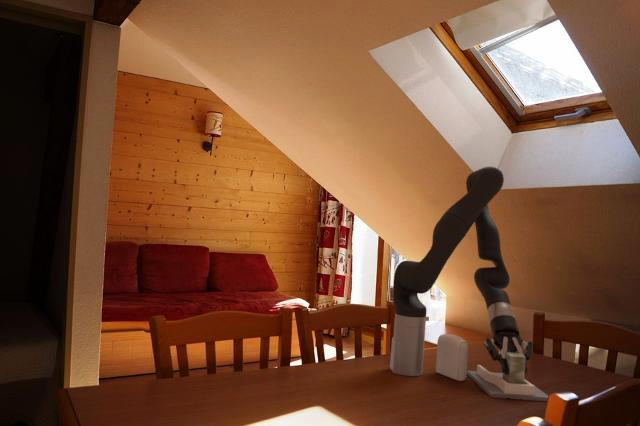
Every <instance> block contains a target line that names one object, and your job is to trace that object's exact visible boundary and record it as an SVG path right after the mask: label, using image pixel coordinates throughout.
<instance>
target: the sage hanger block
mask: <svg viewBox="0 0 640 426" xmlns="http://www.w3.org/2000/svg"><path fill="white" fill-rule="evenodd" d="M505 353H506V359H507V362H508V366H509V370H510V372H509V374H508V375H505V373H503V372H502V373H503V379H504V380H505V381H506V382H508V383H512V384H524V379H525V376H526V374H525V359H526V357H525V355H524V356H523V355H521V354H520V353H515V352H505ZM524 375H525V376H524Z"/></svg>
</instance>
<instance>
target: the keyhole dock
mask: <svg viewBox="0 0 640 426" xmlns="http://www.w3.org/2000/svg"><path fill="white" fill-rule="evenodd" d="M466 376H468V377H469V378H470V379H471V380H472V381H473V382H474V383H475V384H477V386H479V388H481V389H482V391H484V393H486V395H488V396H489V397H490V398H492V397H493V398H495V399H506V398H510V399H509V400H521V399H522V400H521V401H523V400H524V401H538V402H548V401H547V399H548V396H549V395H548V394H547V393H545V392H544V391H542V390H541V389H540V388H539V387H537V386H535V385H534V384H533V383H531V382H530V381H528V380H527V379H525V378H524V384H512V383H508V382H506V381H505V380H504V379H503V372H492V371H489V370H487V369H486V367H483V366H482V365H481V364H477V366H476V371H475V370H467V374H466Z"/></svg>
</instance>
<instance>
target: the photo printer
mask: <svg viewBox="0 0 640 426" xmlns="http://www.w3.org/2000/svg"><path fill="white" fill-rule="evenodd" d="M436 344H437V345H436V359H435V360H436V361H435V372H436V373H437V374H440V375H442V376H444V377H447V378H450V379H451V380H455V381H458V382H463V381H464V382H465V380H466V379H467V371H468V370H467V369H468V354H469V353H468V352H469V351H468V350H469V344H468V342H467V341H466V340H465V339H463V338H462V337H460V336H458V335H456V334H454V333H446V334H440V335H439V336H438V339H437V343H436Z"/></svg>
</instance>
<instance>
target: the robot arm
mask: <svg viewBox="0 0 640 426" xmlns="http://www.w3.org/2000/svg"><path fill="white" fill-rule="evenodd" d="M504 179H505V178H504V174H503V172H502V170H501V169H500V168H498V167H496V166H485V167H482V168H479V169H477V170H475V171H472V172H471V173H469V174H468V176H467V177H466V180H465V181H466V182H465V183H466V184H465V185H466V194H465V195H463V196H462V197H461V198H459V200H457V201H456V202H455V203H453V204H452V206H450V207H449V208H448V209H447V210H446V211H445V212H444V213H443V215H442V216H441V217H440V219H439V220H438V221H437V223H436V224H435V225H434V228H433V231H432V241H431V242H432V243H431V247H430V249H429V250H428V251H427V253H426V255H425V256H424V257H423V258H422V259H421V260H420V261H413V260H402V261H401V262H399V263H398V264H397V266H396V268H395V270H394V276H393V293H392V294H393V299H392V300H393V305H394V310H395V311H394V313H395V314H394V325H393V336H392V337H391V344H390V345H391V347H390V348H391V349H390V362H389V369H390V371H391V373H392V374H395V375H401V376H405V377H407V376H408V377H419V376H422V374H423V368H424V367H423V365H424V352H425V337H426V323H427V307H426V305H425V304H423V303H422V302H421V300H420V299H419V296H418V294H426V293H427V292H429V291H430V290H431V288H433V286H434V285H435V283H436V281H437V279H439V276H440V274H441V273H442V271H443V269H444V267H445V265H446V264H447V262H448V260H449V259H450V257H451V256H452V254H453V253H454V252H455V251H456V248H457V247H458V246H459V245H460V243H461V242H462V241H463V239H464V238H465V237H466V235H467V233H469V231H470V229H471V227H472V226H473V225H474V224H475V231H476V242H477V254H478V255H477V256H478V258H479V259H480V260H483V261H489V262H491V263H493V264H494V266H492V267H491V266H490V267H489V266H488V267H487V266H486V267H479V268H477V269H476V270H475V272H474V276H473V279H474V280H473V281H474V283H475V286H476V288H477V289H478V290H479V292H480V294H481V296H482V298H483V300H484V301H485V304H486V309H487V318H488V323H489V327H490V330H491V335H492V338H489V337H487V338H486V339H485V341H484V344H483V346H484V347H485V349H486V350H487V352H488V354H489V355H490V357H491V359H492V360H493V361H498V362H499V363H500V367H501V368H500V369H501V371H502V373H505V375H508V374H509V372H510V370H509V366H508V362H507V359H506V353H505V352H515V353H520V354H521V355H523V356H525V357H526V359H525V375H524V377H525V376H526V374H527V373H528V366H527V364H528V363H529V362H530V361H531V359H532V355H533V345H534V343H533V342H532V341H531V340H529V341H528V342H527V341H525V340H523V339H522V337H521V336H520V331H519V326H518V323H517V318H516V316H515V312H514V310H513V308H512V304H511V301H510V298H509V297H510V296H509V294H508V293H507V291H506V290H504V289H506V288H507V287H508V286H509V284H510V275H509V272H508V269H507V267H506V265H505V262H504V258H503V255H502V250H501V248H502V247H501V238H500V233H499V229H498V227H497V225H496V222H494V219H493V217H492V216H491V214H490V210H489V205H488V204H489V203H490V202H491V201H492V199H494V197H496V195H497V194H499V192H500V191H501V189H502V188H503V187H504V186H503V185H504V182H505V181H504ZM521 346H523V348H522V347H521ZM496 347H497V348H498V349H499V350H497V349H496ZM523 350H524V352H523Z"/></svg>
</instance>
